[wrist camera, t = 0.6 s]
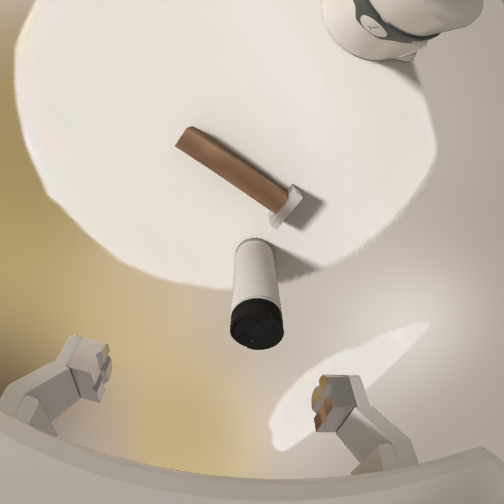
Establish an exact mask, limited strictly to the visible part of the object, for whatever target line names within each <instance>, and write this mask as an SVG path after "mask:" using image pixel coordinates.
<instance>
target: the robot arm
mask: <svg viewBox="0 0 504 504" xmlns="http://www.w3.org/2000/svg"><path fill="white" fill-rule="evenodd" d="M501 1H502V2H503V3H504V0H501ZM482 8H483V0H322V17H323V21H324V24H325V26H326V28H327V30H328V32H329V34H330V35H331V36H332V38H333V39H334V40H335V41H336V42H337V43H338V44H339V45H340V46H341V47H342V48H344V49H345V50H347V51H348V52H350V53H352V54H354V55H356V56H358V57H361V58H364V59H369V60H384V59H391V58H394V59H397V60H401V61H406V62H408V61H411V60H413V59H414V57H415V55H416V53H417V51H418V50H421V49H423V48H425V47H426V42H427V41H428V40H430V39H432V38H434V37H436V36H438V35H439V34H440V33H441V32H445V31H450V30H454V29H459V28H463V27H467V26H469V25H470V24H472V23H473V22H474V21H475V20H476V19H477V18H478V17H479V15H480V14H481V11H482ZM109 351H110V350H109V346H108V344H105V343H101V342H98V341H95V340H91V339H88V338H83V337H80V336H77V335H74V334H73V335H71V336H70V337H69V339H68V341H67V342H66V344H65V346H64V347H63V349H62V351H61V352H60V354H59V356H58V358H57V360H56V361H55V363H53V362H50V363H48V364H47V365H45V366H43V367H41V368H39V369H37V370H35V371H34V372H32V373H30V374H28V375H26V376H24V377H22V378H20V379H19V380H17V381H15V382H13V383H11V384H9V385H8V386H7V388H6V390H5V391H4V393H3V395H2V397H1V398H0V504H504V463H503V461H502V460H500V459H499V458H498V457H497V456H496V455H494V454H493V453H492V452H490V451H489V450H487V449H486V448H484V447H476V448H472V449H470V450H466V451H463V452H460V453H457V454H454V455H450V456H447V457H444V458H440V459H436V460H432V461H428V462H424V463H420V464H419V463H418V461H417V457H416V454H415V451H414V448H413V446H412V443H411V440H410V439H409V438H408V437H407V436H406V435H404V434H403V433H402V432H401V431H400V430H399V429H398V428H397V427H395V426H394V425H393V424H392V423H391V422H390V421H389V420H388V419H386V418H385V417H384V416H383V415H382V414H381V413H380V412H378V410H376V409H375V408H374V407H370V405H369V402H368V399H367V396H366V393H365V390H364V387H363V384H362V381H361V378H360V377H359V375H322V376H321V378H320V380H319V384H320V385H319V386H317V387H315V389H314V391H313V394H312V410H313V411H314V412H315V413H316V416H315V418H314V422H315V428H316V432H336V434H337V435H338V437H339V438H340V439H341V440H342V441H343V443H344V444H345V445H346V446H347V448H348V449H349V450H350V451H351V452H352V454H353V455H354V456H355V457H356V459H357V460H358V461H359V462H360V464H359V465H358V466H357V467H356V468H355V469H354V470H353V471H352V472H351V475H350V476H340V477H328V478H312V479H253V478H237V477H225V476H215V475H205V474H198V473H191V472H185V471H178V470H173V469H167V468H162V467H157V466H152V465H147V464H143V463H139V462H134V461H130V460H126V459H122V458H119V457H115V456H111V455H108V454H105V453H101V452H98V451H95V450H92V449H88V448H85V447H83V446H80V445H77V444H74V443H71V442H68V441H66V440H63V439H60V438H58V437H57V435H58V434H57V432H56V430H55V429H54V427H53V426H52V424H51V421H52V420H54V419H55V418H56V417H58V416H59V415H60V414H62V413H63V412H64V411H65V410H67V409H68V408H69V407H70V406H72V405H73V404H74V403H75V402H77V401H78V400H79V399H80V397H81V398H84V399H88V400H91V401H95V402H99V403H100V401H101V399H102V396H103V394H104V391H105V388H104V383H106V382H108V381H109V378H110V375H111V370H112V361H111V358H110V357H109V356H108V353H109Z"/></svg>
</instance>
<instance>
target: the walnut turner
mask: <svg viewBox="0 0 504 504" xmlns="http://www.w3.org/2000/svg"><path fill="white" fill-rule="evenodd" d="M175 147H177V148H179V149H180V150H182V151H183V152H185V153H186V154H188V155H189V156H191V157H192V158H194V159H195V160H197V161H198V162H200V163H202V164H203V165H205V166H206V167H208V168H209V169H211V170H212V171H214V172H215V173H217V174H218V175H219V176H221V177H222V178H224V179H225V180H227V181H228V182H230V183H231V184H233V185H234V186H236V187H237V188H239V189H240V190H242V191H243V192H244V193H246V194H247V195H249V196H250V197H252V198H253V199H255V200H256V201H257V202H259V203H260V204H262V205H263V206H265V207H266V208H267V209H269V210H270V212H269V213H268V214H269V220H270V225H271V226H272V227H274V228H275V229H278V228H279V226H280V225H281V224H282V223H283V222H284V220H285V219H286V218H287V217H288V215H289V214H290V213H291V212H292V211H293V209H294V208H295V207H296V206H297V205H298V203H299V202H300V201H301V200H302V199H303V196H302V195H301V193H300V191H299V189H298V188H297V187H296V186H294V185H293V184H291V186H290V187H289V188H288V189H287V191H285V190H284V189H282V188H281V187H280V186H278V185H277V184H276V183H274V182H273V181H271V180H270V179H269V178H267V177H266V176H264V175H263V174H262V173H260V172H259V171H257V170H256V169H255V168H253V167H252V166H250V165H249V164H248V163H246V162H245V161H243V160H242V159H240V158H239V157H237V156H236V155H235V154H233V153H232V152H230V151H229V150H227V149H226V148H224V147H223V146H221V145H220V144H218V143H217V142H215V141H214V140H212V139H211V138H209V137H208V136H206V135H205V134H203V133H202V132H200V131H199V130H197V129H196V128H194V127H192V126H191V127H188V128H187V129H186V130H185V131H184V133H183V134H182V136H181V137H180V139H179V141H178V142H177V144H176V145H175Z"/></svg>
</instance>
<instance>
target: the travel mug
mask: <svg viewBox="0 0 504 504" xmlns="http://www.w3.org/2000/svg"><path fill="white" fill-rule="evenodd" d="M230 333H231V336H232V337H233V339H234V340H236V341H237V342H238V343H239V344H241V345H244V346H247V348H250V349H254V350H262V349H268V348H271V347H273V346H275V345H277V344H278V343H279V342H280V341H281V340H282V338H283V335H284V330H283V320H282V311H281V304H280V297H279V290H278V283H277V276H276V269H275V262H274V255H273V250H272V248H271V246H270V245H269V244H268V243H267V242H266V241H264V240H262V239H258V238H251V239H247V240H245V241H243V242H242V243H241V244H240V245H239V246H238V248H237V250H236V256H235V268H234V280H233V294H232V306H231V325H230Z"/></svg>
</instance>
